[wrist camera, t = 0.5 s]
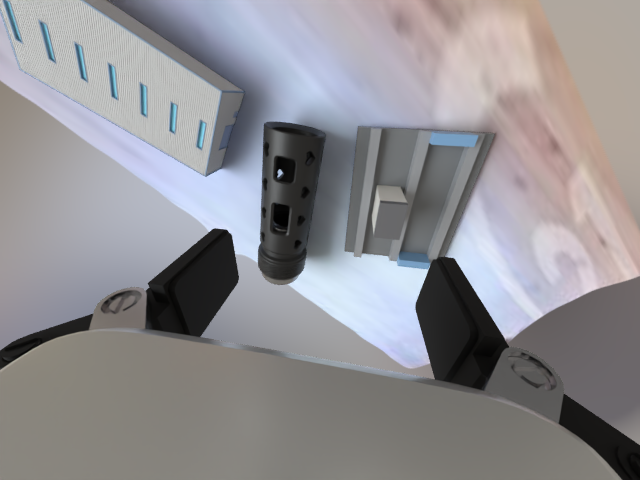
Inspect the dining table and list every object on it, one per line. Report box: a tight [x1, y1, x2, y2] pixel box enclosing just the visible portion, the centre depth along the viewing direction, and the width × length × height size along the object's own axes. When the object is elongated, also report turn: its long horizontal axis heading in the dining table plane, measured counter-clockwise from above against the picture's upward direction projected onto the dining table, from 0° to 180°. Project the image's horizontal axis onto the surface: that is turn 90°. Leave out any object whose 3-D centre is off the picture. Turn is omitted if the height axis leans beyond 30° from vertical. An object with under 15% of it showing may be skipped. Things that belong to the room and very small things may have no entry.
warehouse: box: [0, 0, 245, 177], centre depth 34 cm, size 30×14×8 cm, turn 60°
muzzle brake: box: [258, 122, 326, 285], centre depth 41 cm, size 10×28×10 cm, turn 170°
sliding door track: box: [345, 126, 495, 269], centre depth 40 cm, size 24×20×4 cm
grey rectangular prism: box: [372, 185, 408, 240], centre depth 38 cm, size 6×4×8 cm, turn 178°
